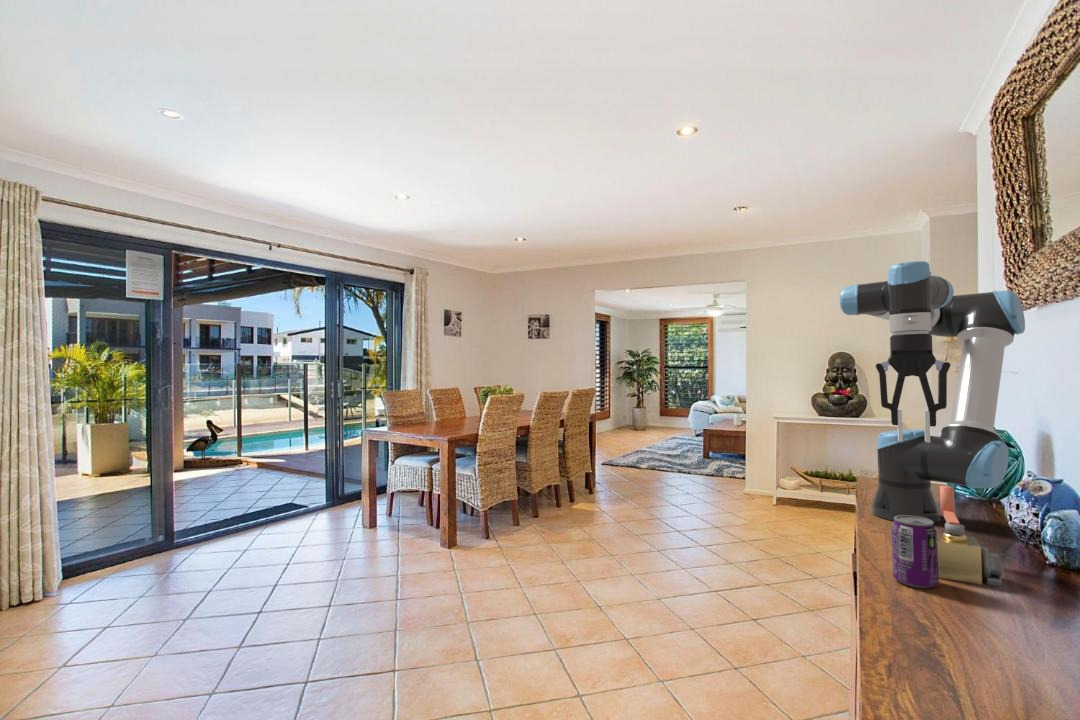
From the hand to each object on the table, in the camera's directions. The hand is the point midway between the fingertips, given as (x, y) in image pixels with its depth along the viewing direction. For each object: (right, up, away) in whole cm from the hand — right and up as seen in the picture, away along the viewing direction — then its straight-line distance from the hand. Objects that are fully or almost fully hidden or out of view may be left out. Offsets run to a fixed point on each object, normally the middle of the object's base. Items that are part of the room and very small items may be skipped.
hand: (913, 440), depth 114 cm
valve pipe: (0, -25, -11) cm, 27 cm away
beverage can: (-10, -25, -15) cm, 31 cm away
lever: (+2, -16, -7) cm, 18 cm away
